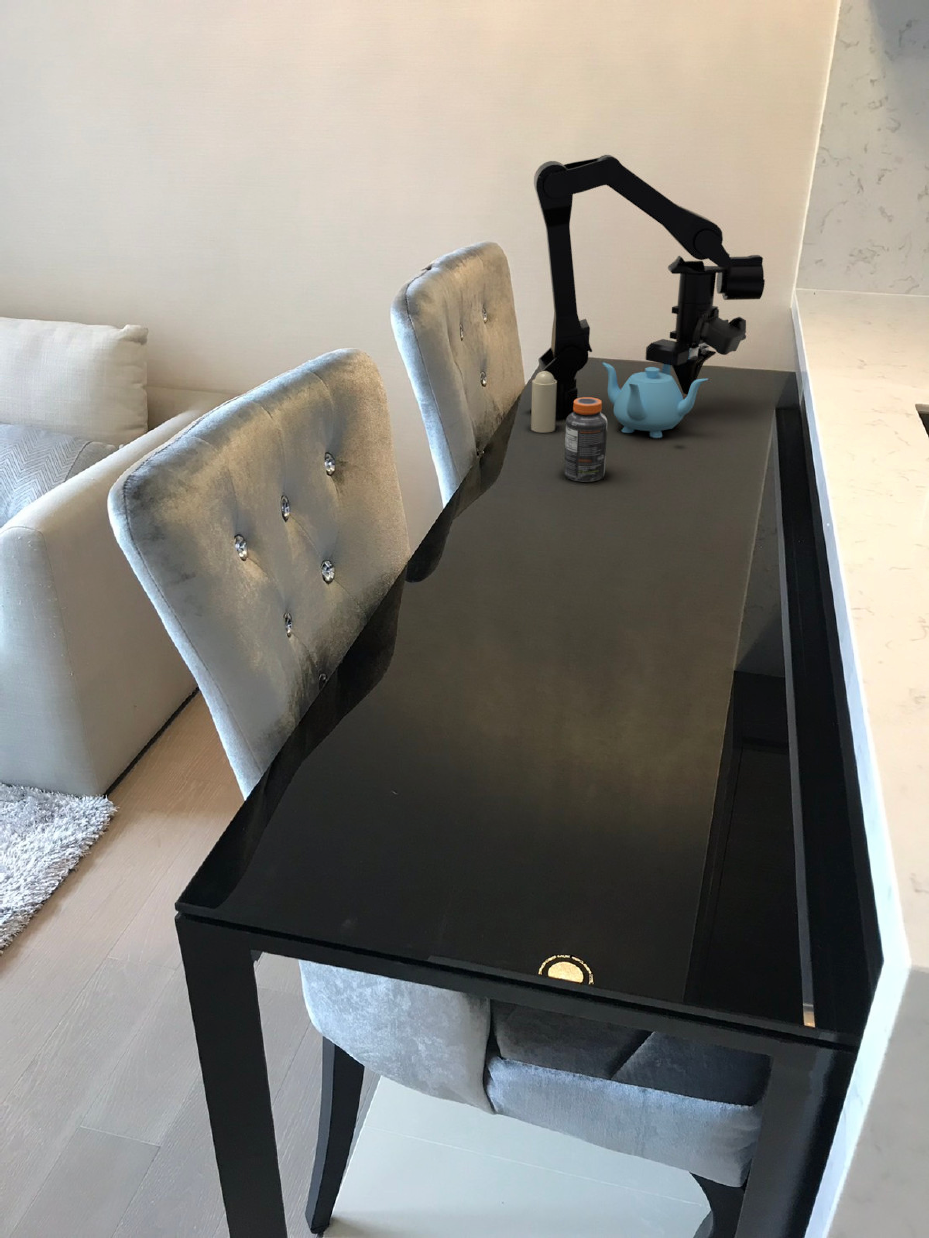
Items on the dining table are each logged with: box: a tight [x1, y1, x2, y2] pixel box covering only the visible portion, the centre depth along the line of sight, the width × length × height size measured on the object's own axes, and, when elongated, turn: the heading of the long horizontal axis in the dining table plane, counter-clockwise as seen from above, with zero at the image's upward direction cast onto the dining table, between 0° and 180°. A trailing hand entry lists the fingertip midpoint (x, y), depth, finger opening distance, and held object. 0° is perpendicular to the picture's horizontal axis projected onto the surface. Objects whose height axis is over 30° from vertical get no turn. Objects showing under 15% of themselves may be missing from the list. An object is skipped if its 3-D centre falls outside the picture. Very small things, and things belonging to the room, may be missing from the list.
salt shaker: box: [530, 371, 557, 434], centre depth 163 cm, size 4×4×10 cm
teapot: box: [601, 361, 709, 439], centre depth 163 cm, size 13×13×10 cm
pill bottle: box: [563, 396, 608, 483], centre depth 144 cm, size 6×6×11 cm
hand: (686, 393), depth 171 cm, fingers closed
